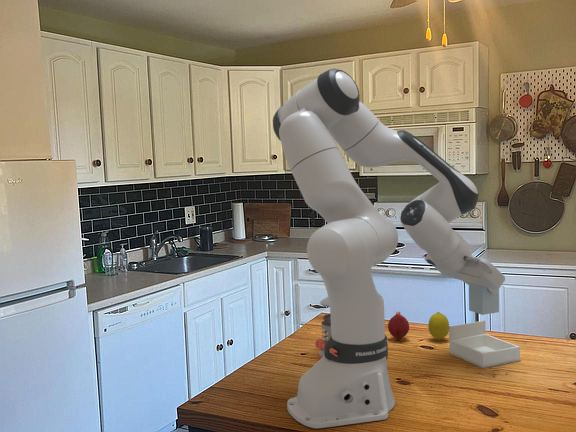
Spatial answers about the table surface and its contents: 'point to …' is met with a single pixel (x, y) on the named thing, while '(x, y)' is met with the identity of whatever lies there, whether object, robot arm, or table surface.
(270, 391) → the table surface
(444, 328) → the lemon
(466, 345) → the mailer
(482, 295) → the carton
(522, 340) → the table surface
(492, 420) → the table surface
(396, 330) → the onion
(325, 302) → the french press
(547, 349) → the table surface
